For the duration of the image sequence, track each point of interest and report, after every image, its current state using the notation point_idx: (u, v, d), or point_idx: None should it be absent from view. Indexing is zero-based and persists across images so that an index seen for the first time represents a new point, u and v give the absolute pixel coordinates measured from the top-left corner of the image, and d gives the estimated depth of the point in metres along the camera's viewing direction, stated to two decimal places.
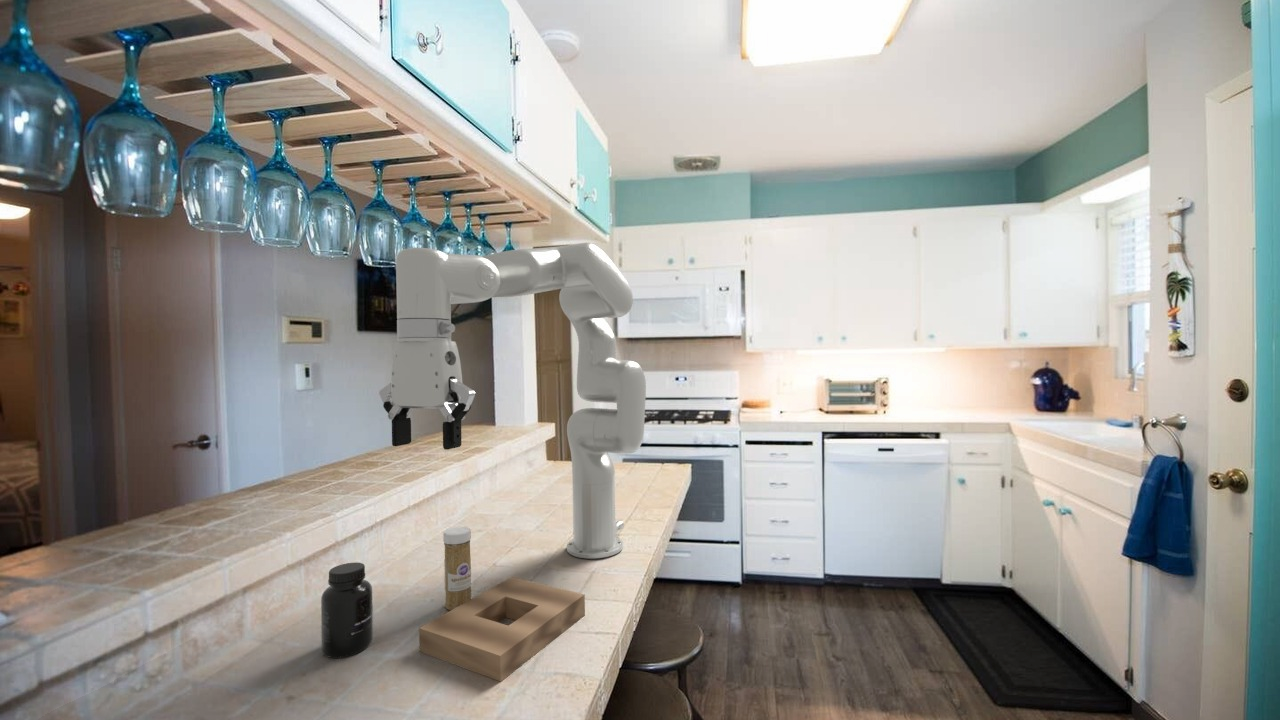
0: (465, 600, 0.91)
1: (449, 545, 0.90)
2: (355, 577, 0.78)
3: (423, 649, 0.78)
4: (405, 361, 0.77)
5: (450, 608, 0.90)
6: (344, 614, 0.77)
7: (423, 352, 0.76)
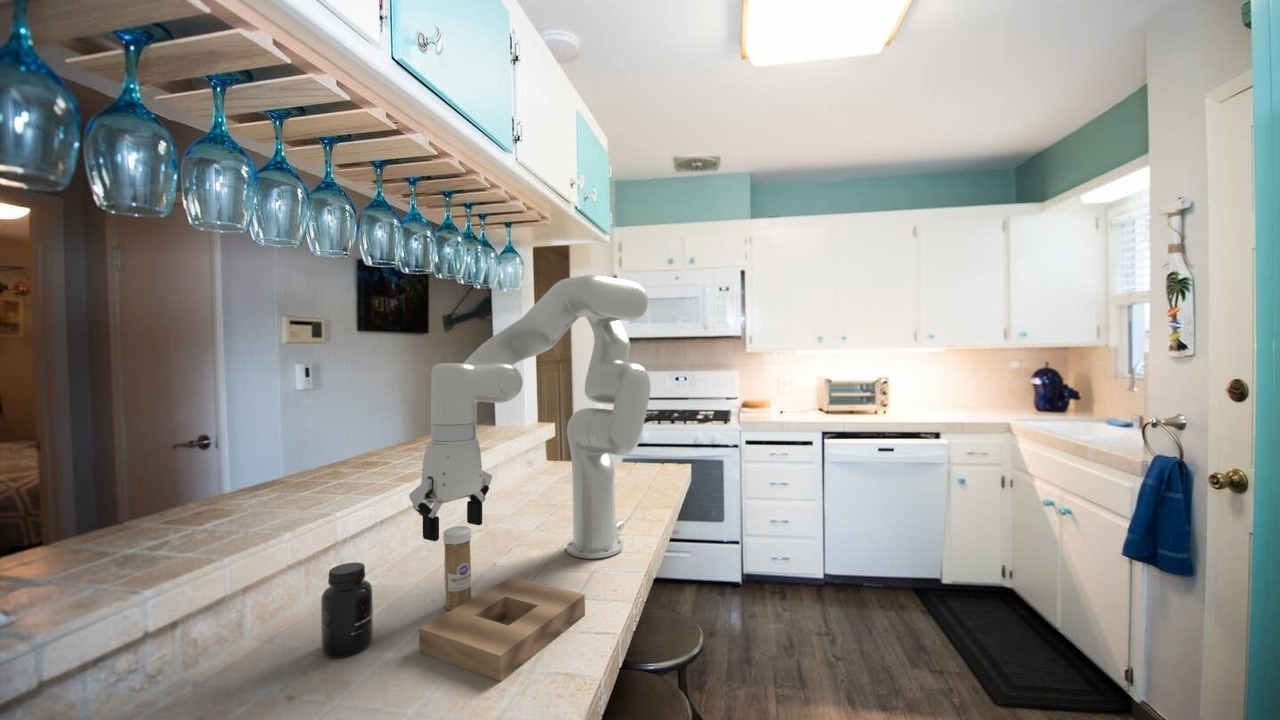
0: (465, 600, 0.91)
1: (449, 545, 0.90)
2: (355, 577, 0.78)
3: (423, 649, 0.78)
4: (458, 460, 0.89)
5: (450, 608, 0.90)
6: (344, 614, 0.77)
7: (472, 450, 0.92)
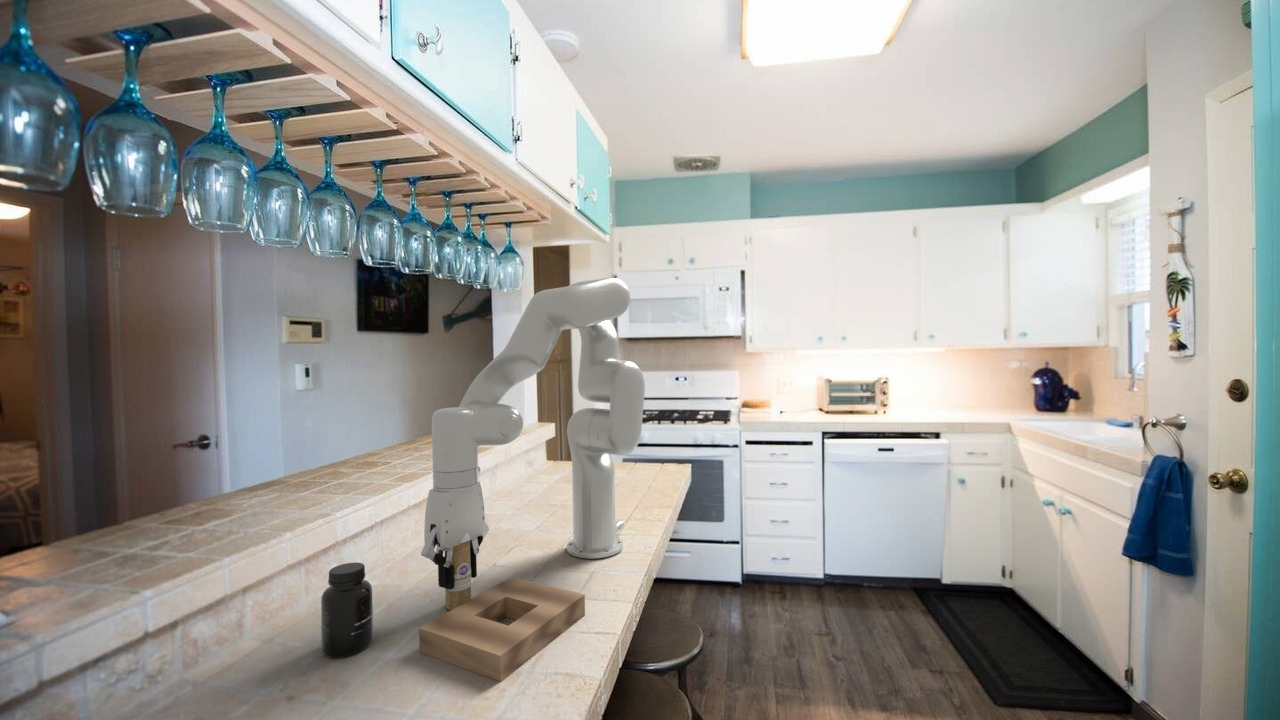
0: (465, 600, 0.91)
1: None
2: (355, 577, 0.78)
3: (423, 649, 0.78)
4: (460, 506, 0.90)
5: (450, 608, 0.90)
6: (344, 614, 0.77)
7: (474, 494, 0.93)
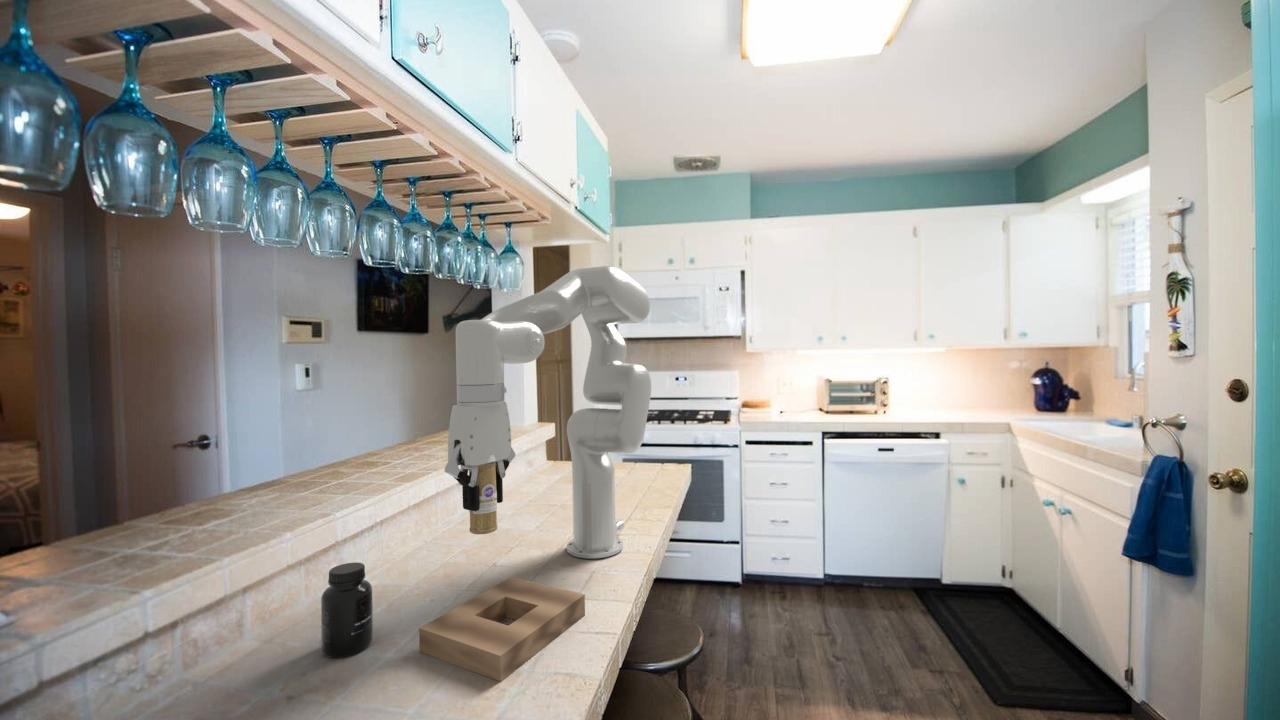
0: (490, 524, 0.85)
1: None
2: (355, 577, 0.78)
3: (423, 649, 0.78)
4: (486, 423, 0.84)
5: (475, 532, 0.85)
6: (344, 614, 0.77)
7: (500, 412, 0.87)
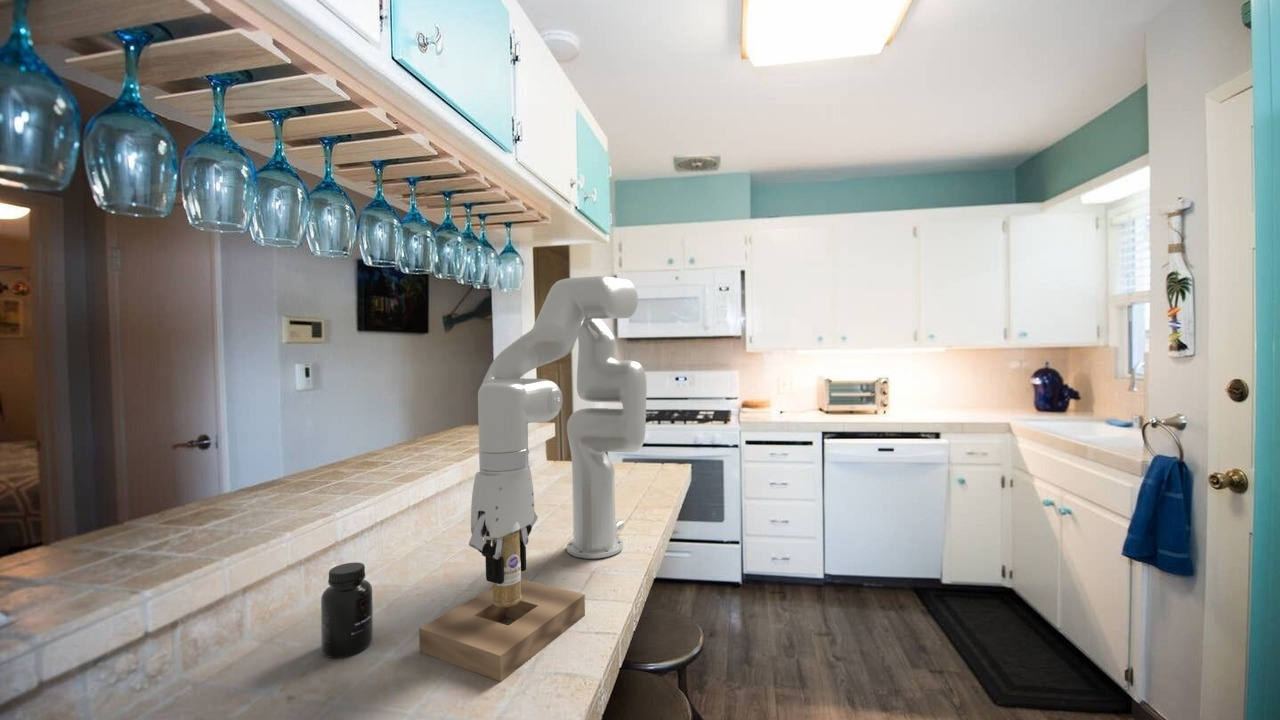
0: (515, 596, 0.82)
1: None
2: (355, 577, 0.78)
3: (423, 649, 0.78)
4: (510, 491, 0.80)
5: (499, 605, 0.81)
6: (344, 614, 0.77)
7: (524, 478, 0.83)
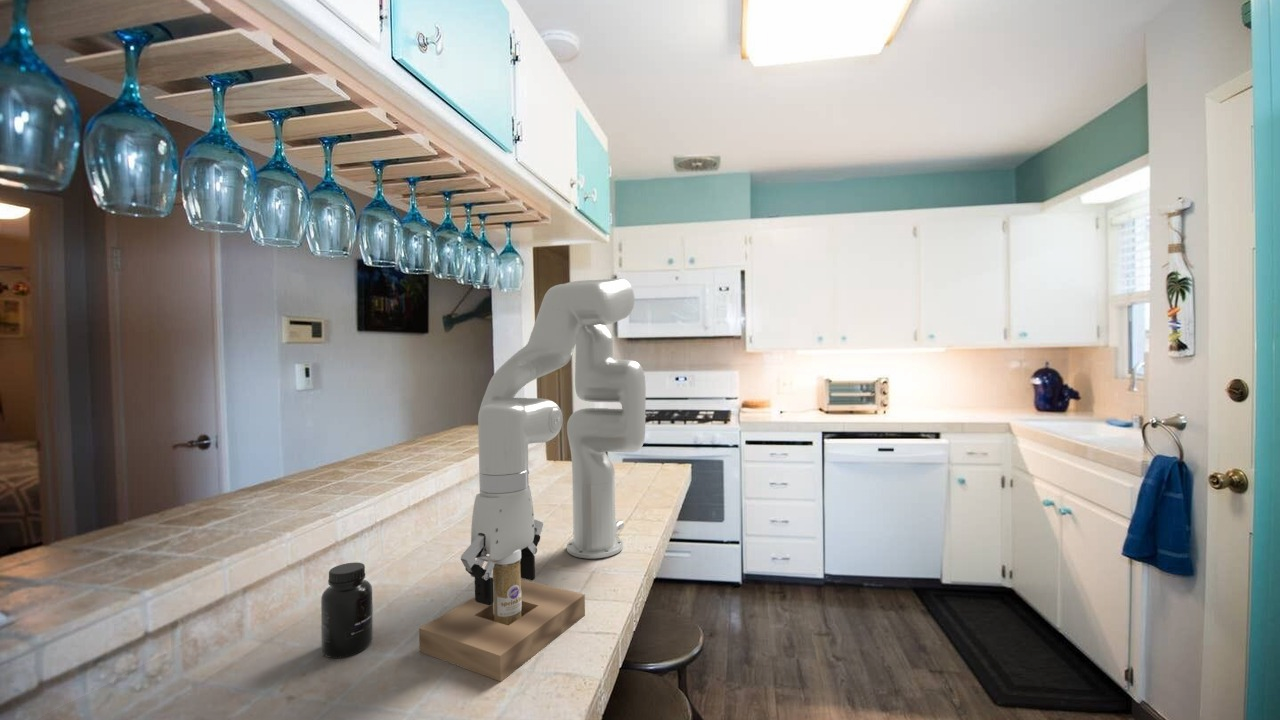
0: None
1: (498, 565, 0.81)
2: (355, 577, 0.78)
3: (423, 649, 0.78)
4: (511, 513, 0.80)
5: None
6: (344, 614, 0.77)
7: (524, 499, 0.83)
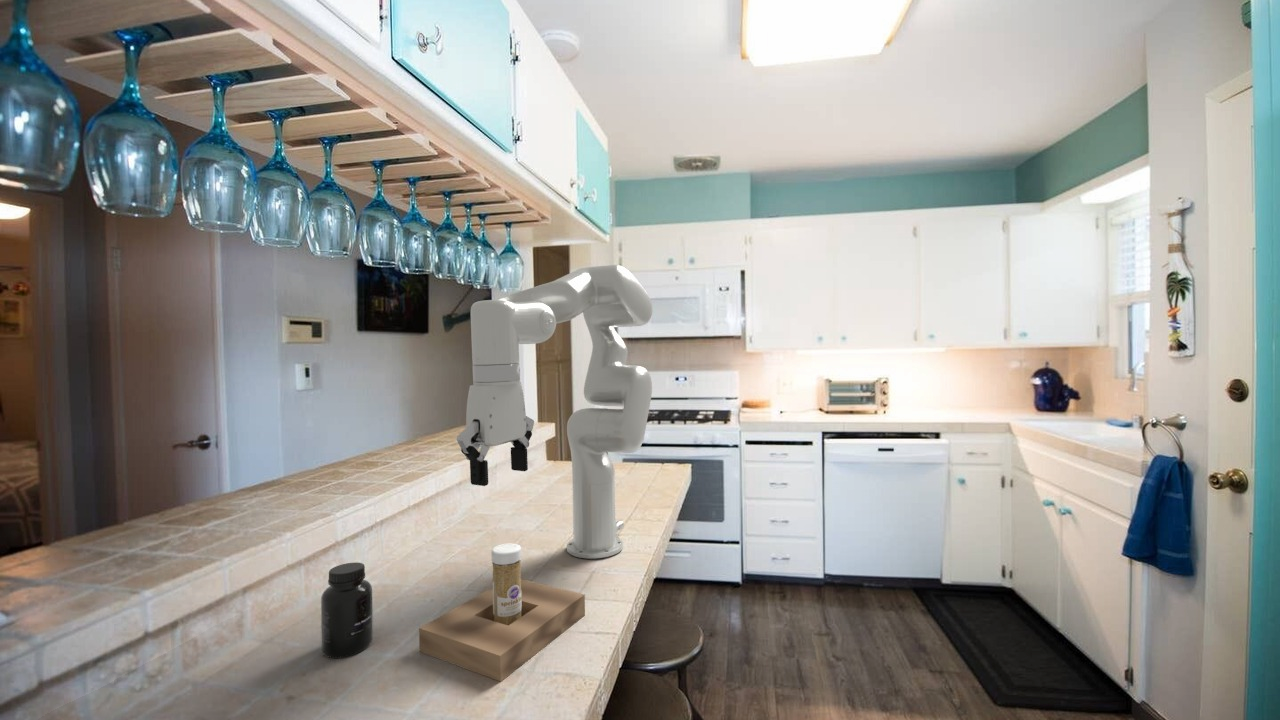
0: None
1: (498, 565, 0.81)
2: (355, 577, 0.78)
3: (423, 649, 0.78)
4: (503, 402, 0.85)
5: None
6: (344, 614, 0.77)
7: (516, 392, 0.88)
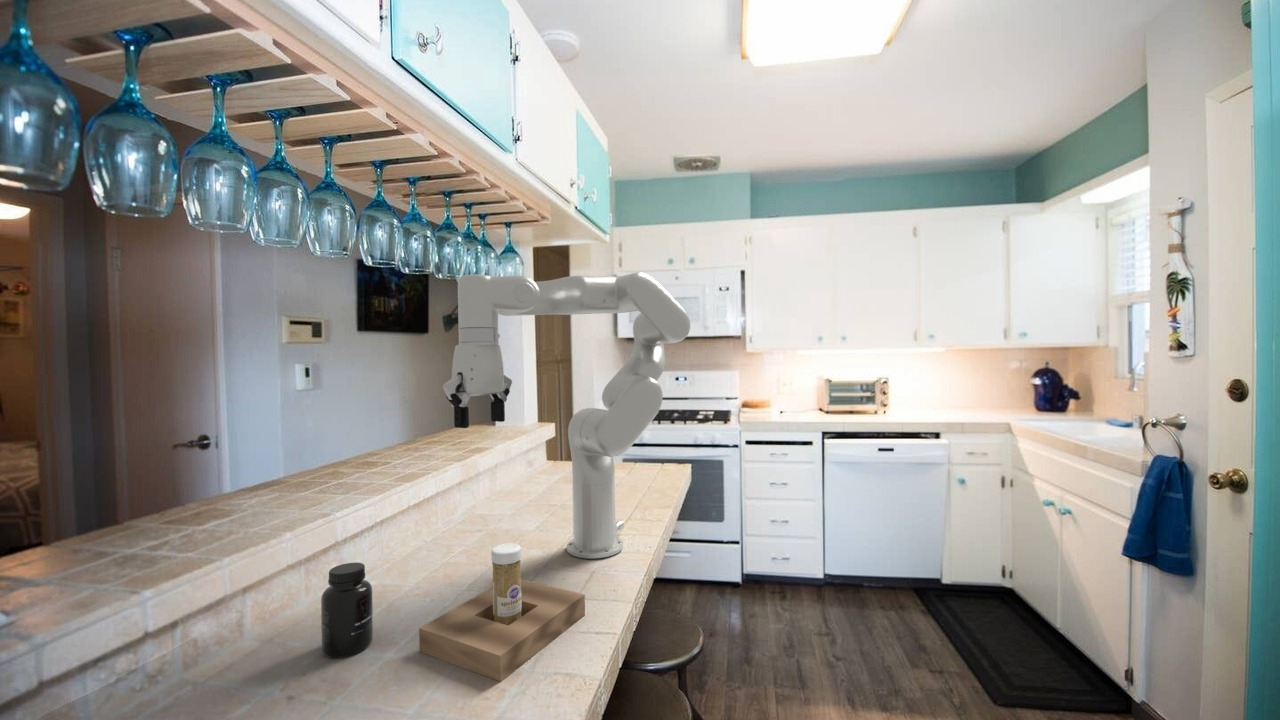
0: None
1: (498, 565, 0.81)
2: (355, 577, 0.78)
3: (423, 649, 0.78)
4: (483, 359, 1.01)
5: None
6: (344, 614, 0.77)
7: (495, 353, 1.04)
